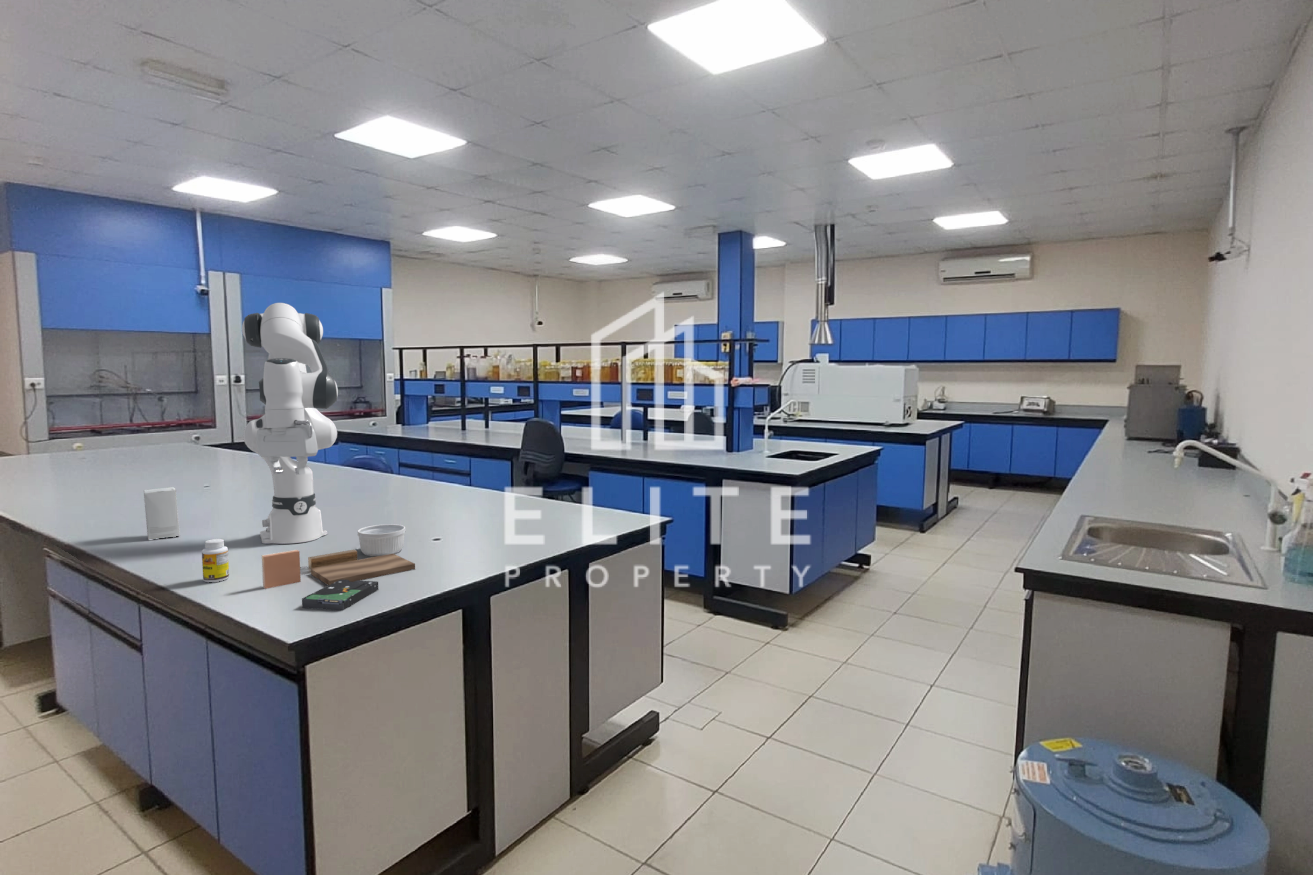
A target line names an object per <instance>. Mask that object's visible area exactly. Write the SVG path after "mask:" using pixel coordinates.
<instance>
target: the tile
mask: <svg viewBox="0 0 1313 875" xmlns="http://www.w3.org/2000/svg"><path fill="white" fill-rule="evenodd" d="M300 567H301V556H300V550H298V549H292V550H288V551H281V552H274V553H267V554H263V555H261V572H262V574H261V575H262V588H264V589H265V590H266V589H271V588H277V587H282V586H287V585H292V584H297V583H301V582H302V581H301V580H302V579H301V575H300Z"/></svg>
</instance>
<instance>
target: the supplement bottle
mask: <svg viewBox="0 0 1313 875" xmlns="http://www.w3.org/2000/svg"><path fill="white" fill-rule="evenodd" d="M224 541H225V540H224V539H221V538H213V539H209V540H206V541H204V548H203V549H202V550H201V560H202V562H201V563H202V565H201V566H202V580H203V581H204V582H205V583H209V582H212V583H219V581H220V582H223V580H224V581H226V580H228V579H229V577H230V565H229V564H230V562H229V549H228V547H227V546H225V542H224Z"/></svg>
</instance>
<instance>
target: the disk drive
mask: <svg viewBox="0 0 1313 875" xmlns="http://www.w3.org/2000/svg"><path fill="white" fill-rule="evenodd" d="M378 591H379V581H375V580H374V581H373V580H357V581H354V582H350V581H349V580H342V579H341V580H338V581H336V582H334V583H332V584H330V585H326V586H324V587H323V588H320V589H318V590H317V591H314V592H313V593H310V594H308V595H306V596H304V597H303V598H301V606H302V607H301V608H302V609H311V608H313V610H315V609H316V610H329V611H345V610H346V609H348V608H350V607H352V606H354V605H355V604H356V603H359V602H361V601H362V600H364V599H365V598H367V597H369V596H370V595H372V594H374V593H376V592H378Z"/></svg>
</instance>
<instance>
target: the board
mask: <svg viewBox="0 0 1313 875" xmlns="http://www.w3.org/2000/svg"><path fill="white" fill-rule="evenodd" d="M411 569H413V570H416V563H414V562H413V561H410V560H409V559H406V558H403V557H401V556H399V555H397V554H396V553H395V554H388V555H382V556H370V557H366V558H362V559H357V560H355V561H350V562H344V563H339V564H333V565H328V566H322V567H317V568H311V573H310V575H311V576H313V577H314V578H316V579H317V580H319V581H321V582H322V583H324V584H325V585H326V586H328V585H330V584H332V583H334V582H336V581H338V580H341V579H342V580H349V581H350V582H354V581H357V580H360V581H365V580H368V579H372V578H379V577H383V576H388V575H393V574H398V573H403V572H408V571H412V570H411Z"/></svg>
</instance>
